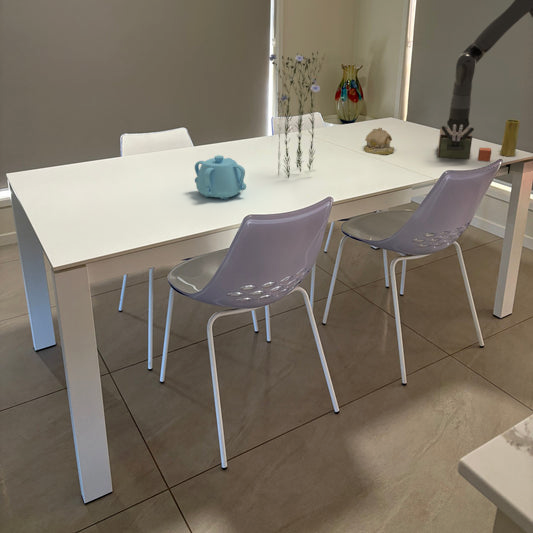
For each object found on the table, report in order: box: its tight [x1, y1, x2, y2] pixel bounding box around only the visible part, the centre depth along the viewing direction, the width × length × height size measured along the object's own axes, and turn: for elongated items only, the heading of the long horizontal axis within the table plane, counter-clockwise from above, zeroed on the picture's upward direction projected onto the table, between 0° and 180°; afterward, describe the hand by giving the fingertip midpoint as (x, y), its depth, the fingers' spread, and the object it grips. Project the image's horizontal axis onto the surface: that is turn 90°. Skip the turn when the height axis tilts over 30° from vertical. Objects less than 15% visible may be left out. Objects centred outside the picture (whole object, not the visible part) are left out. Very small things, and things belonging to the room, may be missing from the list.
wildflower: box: [268, 51, 326, 179], centre depth 215 cm, size 22×23×45 cm
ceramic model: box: [363, 127, 395, 155], centre depth 255 cm, size 14×11×10 cm
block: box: [477, 147, 492, 162], centre depth 242 cm, size 4×4×4 cm
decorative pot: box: [194, 154, 247, 200], centre depth 202 cm, size 16×16×14 cm
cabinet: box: [437, 126, 473, 160], centre depth 250 cm, size 15×13×10 cm
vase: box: [499, 118, 521, 157], centre depth 246 cm, size 6×6×14 cm
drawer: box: [439, 137, 472, 160], centre depth 245 cm, size 18×11×8 cm, turn 165°
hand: (454, 149), depth 239 cm, fingers closed
